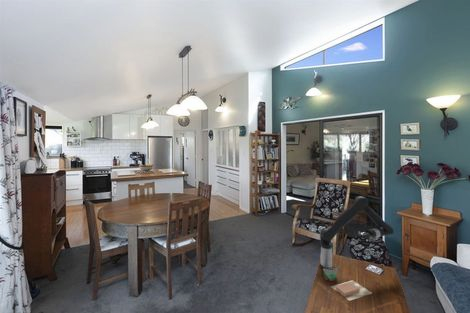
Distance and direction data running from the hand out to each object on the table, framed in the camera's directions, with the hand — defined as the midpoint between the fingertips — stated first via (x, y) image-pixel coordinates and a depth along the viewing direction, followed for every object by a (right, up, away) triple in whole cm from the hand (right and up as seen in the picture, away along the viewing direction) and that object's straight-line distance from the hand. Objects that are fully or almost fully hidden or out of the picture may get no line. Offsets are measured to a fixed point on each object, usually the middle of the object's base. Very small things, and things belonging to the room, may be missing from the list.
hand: (357, 236), depth 196 cm
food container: (-21, -35, -2) cm, 41 cm away
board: (-13, -35, -16) cm, 41 cm away
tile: (-9, -32, -15) cm, 37 cm away
